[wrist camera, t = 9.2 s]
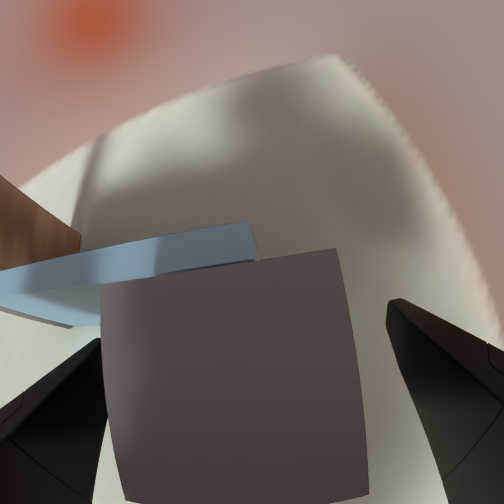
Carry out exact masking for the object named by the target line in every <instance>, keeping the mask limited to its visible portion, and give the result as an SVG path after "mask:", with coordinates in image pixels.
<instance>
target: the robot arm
mask: <svg viewBox="0 0 504 504" xmlns="http://www.w3.org/2000/svg"><path fill="white" fill-rule="evenodd" d="M386 329H387V332H388V335H389V338H390V341H391V344H392V347H393V350H394V353H395V357H396V360H397V363H398V366H399V369H400V372H401V374H402V376H403V379H404V381H405V383H406V386H407V388H408V390H409V393H410V395H411V398H412V400H413V402H414V405H415V407H416V410H417V412H418V415H419V417H420V420H421V423H422V425H423V428H424V430H425V433H426V436H427V438H428V441H429V444H430V447H431V449H432V452H433V455H434V458H435V461H436V464H437V467H438V470H439V473H440V476H441V479H442V481H443V482H442V483H443V486H444V489H445V493H446V496H447V499H448V503H449V504H504V351H502V350H500V349H498V348H496V347H495V346H493V345H491V344H489V343H488V344H487V343H486V342H485V341H483V340H481V339H479V338H478V337H476V336H474V335H472V334H470V333H468V332H466V331H464V330H462V329H461V328H459V327H457V326H455V325H453V324H451V323H449V322H447V321H445V320H443V319H441V318H439V317H438V316H436V315H434V314H432V313H430V312H428V311H426V310H424V309H422V308H420V307H418V306H416V305H414V304H412V303H410V302H408V301H406V300H404V299H402V298H398V299H393V300H390V301H389V302H388V305H387V315H386ZM107 419H108V412H107V405H106V397H105V388H104V378H103V366H102V350H101V338H95V339H94V340H92V341H91V342H90V343H88V344H87V345H86V346H84V347H83V348H82V349H80V350H79V351H77V352H76V353H75V354H73V355H72V356H71V357H69V358H68V359H67V360H65V361H64V362H63V363H61V364H60V365H59V366H57V367H56V368H55V369H53V370H52V371H50V372H49V373H48V374H46V375H45V376H44V377H42V378H41V379H40V380H38V381H37V382H36V383H34V384H33V385H32V386H31V387H29V388H28V389H27V390H26V391H24V392H23V393H21V394H20V395H19V396H17V397H16V398H15V399H13V400H12V401H11V402H9V403H8V404H6V405H5V406H3V407H2V408H0V504H92V499H93V492H94V486H95V479H96V473H97V468H98V462H99V457H100V452H101V447H102V442H103V437H104V432H105V428H106V423H107Z"/></svg>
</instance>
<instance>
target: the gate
mask: <svg viewBox="0 0 504 504" xmlns="http://www.w3.org/2000/svg"><path fill="white" fill-rule="evenodd" d="M259 260H261V258H260V255H259V251H258V248H257V245H256V242H255V238H254V235H253V232H252V229H251V226H250V222H249V220H248V221H243V222H237V223H231V224H225V225H219V226H214V227H208V228H202V229H197V230H191V231H186V232H181V233H175V234H170V235H165V236H160V237H154V238H149V239H144V240H139V241H134V242H129V243H124V244H119V245H114V246H110V247H105V248H100V249H95V250H91V251H86V252H81V253H77V254H72V255H68V256H63V257H59V258H54V259H50V260H45V261H41V262H37V263H33V264H28V265H24V266H20V267H16V268H12V269H8V270H3V271H0V311H2V312H6V313H9V314H13V315H16V316H20V317H23V318H27V319H31V320H35V321H39V322H42V323H47V324H51V325H55V326H59V327H63V328H68V329H70V328H72V327H73V326H83V325H99V324H100V284H107V283H113V282H120V281H127V280H134V279H141V278H148V277H154V276H161V275H168V274H174V273H181V272H188V271H194V270H201V269H207V268H214V267H220V266H227V265H233V264H240V263H246V262H252V261H259Z"/></svg>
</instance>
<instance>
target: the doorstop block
mask: <svg viewBox="0 0 504 504" xmlns="http://www.w3.org/2000/svg"><path fill="white" fill-rule="evenodd" d="M100 326H101V350H102V366H103V378H104V388H105V397H106V405H107V412H108V419H109V426H110V432H111V438H112V443H113V449H114V454H115V459H116V463H117V468H118V472H119V476H120V481H121V485H122V489H123V492H124V496H125V500H126V501H130V502H135V503H141V504H329V503H334V502H339V501H344V500H349V499H353V498H357V497H361V496H365V495H369V478H368V459H367V444H366V432H365V421H364V411H363V402H362V393H361V385H360V377H359V370H358V363H357V356H356V349H355V343H354V337H353V331H352V325H351V319H350V314H349V308H348V303H347V298H346V292H345V287H344V282H343V278H342V273H341V268H340V264H339V259H338V254H337V250H336V248H333V249H327V250H321V251H315V252H309V253H303V254H296V255H290V256H284V257H278V258H271V259H265V260H259V261H252V262H246V263H240V264H233V265H227V266H220V267H214V268H207V269H201V270H194V271H188V272H181V273H174V274H168V275H161V276H154V277H148V278H141V279H134V280H127V281H120V282H113V283H107V284H100Z"/></svg>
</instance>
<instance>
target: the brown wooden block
mask: <svg viewBox="0 0 504 504" xmlns="http://www.w3.org/2000/svg"><path fill="white" fill-rule="evenodd" d="M80 236H81V234H79V233H78V232H76V231H75V230H73V229H72V228H71V227H69V226H68V225H66V224H65V223H63V222H62V221H61V220H59V219H58V218H56V217H55V216H54V215H52V214H51V213H49V212H48V211H47V210H45V209H44V208H43V207H41V206H40V205H39V204H37V203H36V202H35V201H33V200H32V199H31V198H29V197H28V196H27V195H25V194H24V193H23V192H21V191H20V190H19V189H17V188H16V187H15V186H13V185H12V184H11V183H10V182H9V181H7V180H6V179H5V178H4V177H2V176H1V175H0V271H3V270H8V269H12V268H16V267H20V266H24V265H28V264H33V263H37V262H41V261H45V260H50V259H54V258H59V257H63V256H68V255H72V254H77V253H79V246H80Z"/></svg>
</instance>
